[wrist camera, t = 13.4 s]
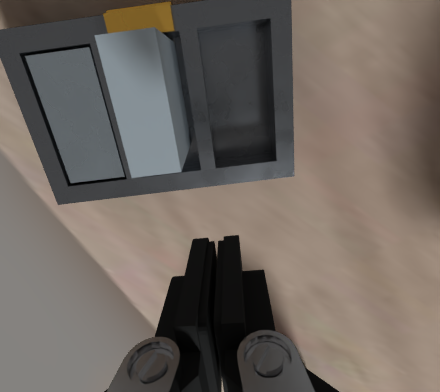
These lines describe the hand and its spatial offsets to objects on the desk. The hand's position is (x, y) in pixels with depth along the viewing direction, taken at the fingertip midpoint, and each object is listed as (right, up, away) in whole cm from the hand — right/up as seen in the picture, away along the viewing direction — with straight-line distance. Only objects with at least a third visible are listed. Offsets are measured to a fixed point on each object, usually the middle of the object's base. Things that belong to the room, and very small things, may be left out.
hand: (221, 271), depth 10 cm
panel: (-5, +11, +13) cm, 18 cm away
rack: (-5, +11, +14) cm, 18 cm away
